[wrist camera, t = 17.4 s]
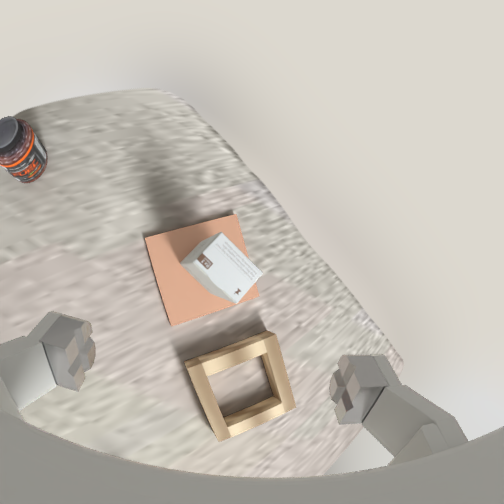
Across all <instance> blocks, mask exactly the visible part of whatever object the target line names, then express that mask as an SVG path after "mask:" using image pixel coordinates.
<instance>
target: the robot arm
mask: <svg viewBox="0 0 504 504" xmlns="http://www.w3.org/2000/svg"><path fill="white" fill-rule="evenodd" d="M91 333H92V327H91V323H90V322H88V321H86V320H82V319H79V318H75V317H72V316H68V315H65V314H61V313H57V312H54V311H51V312H49V313H48V314H47V315H46V316H45V317H44V318H43V319H42V320H41V321H40V322H39V323H38V325H37V326H36V327H35V328H34V329H33V330H32V331H31V332H30V334H29V335H28V336H27V337H25V336H22V337H19V338H16V339H14V340H11V341H8V342H6V343H3V344H0V504H504V426H503V427H501V428H499V429H497V430H495V431H493V432H490V433H488V434H486V435H484V436H481V437H479V438H476V439H474V440H471V441H469V442H468V440H467V438H466V436H465V435H464V433H463V431H462V429H461V427H460V426H459V424H458V422H457V421H456V419H455V417H454V416H452V415H451V414H449V413H447V412H446V411H444V410H443V409H441V408H440V407H438V406H436V405H435V404H434V403H432V402H430V401H429V400H427V399H426V398H424V397H423V396H421V395H420V394H418V393H417V392H415V391H414V390H412V389H411V388H409V387H408V386H406V385H401V383H400V381H399V379H398V377H397V375H396V374H395V372H394V370H393V368H392V367H391V365H390V363H389V361H388V360H387V358H386V356H385V355H383V354H370V355H342V356H341V358H340V359H339V361H338V366H339V369H338V370H337V371H336V372H334V373H333V375H332V378H331V380H330V387H329V390H330V396H331V400H333V401H334V402H335V403H336V404H337V406H336V407H335V409H334V410H335V413H336V416H337V420H338V423H339V424H358V423H362V425H363V426H364V427H365V428H366V429H367V430H368V431H369V432H370V433H371V434H372V435H373V436H374V437H375V438H376V439H377V440H378V441H379V442H380V443H381V444H382V445H383V446H384V447H385V448H386V449H387V450H388V451H389V452H390V453H391V454H392V455H393V456H394V459H393V460H392V461H391V462H390V463H389V464H388V465H387V466H384V467H379V468H374V469H368V470H362V471H356V472H349V473H341V474H332V475H322V476H309V477H289V478H254V477H233V476H220V475H210V474H201V473H193V472H186V471H180V470H174V469H168V468H162V467H157V466H153V465H148V464H143V463H139V462H135V461H131V460H127V459H123V458H119V457H116V456H112V455H109V454H106V453H102V452H99V451H96V450H93V449H90V448H87V447H84V446H81V445H79V444H76V443H73V442H71V441H68V440H65V439H63V438H60V437H58V436H56V435H53V434H51V433H48V432H46V431H44V430H42V429H40V428H37V427H35V426H33V425H31V424H29V423H27V422H25V420H24V418H23V416H22V415H21V413H20V410H21V409H23V408H24V407H26V406H27V405H29V404H30V403H32V402H33V401H35V400H36V399H38V398H40V397H41V396H43V395H44V394H46V393H47V392H49V391H50V390H52V389H53V388H55V387H56V386H57V385H59V386H62V387H65V388H68V389H71V390H74V391H79V389H80V387H81V386H82V384H83V382H84V380H85V374H84V372H85V371H87V370H89V369H91V367H92V365H93V363H94V359H95V343H94V341H93V340H92V339H91V338H90V335H91Z"/></svg>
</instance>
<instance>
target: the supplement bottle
mask: <svg viewBox="0 0 504 504" xmlns="http://www.w3.org/2000/svg"><path fill="white" fill-rule="evenodd" d="M0 165H1V166H2V167H3V168H4V169H5V170H6V171H8V172H9V173H10V174H11V175H12V176H13V177H14V178H16V179H17V180H18V181H20V182H22V183H30V182H33V181H35V180H36V179H38V178H39V177H40V176H41V175H42V173H43V172H44V170H45V168H46V165H47V153H46V151H45V149H44V147H43V145H42V144H41V142H40V141H39V139H38V138H37V136H36V135H35V133H34V131H33V130H32V128H31V127H30V125H29V124H28V123H27V122H26V121H24V120H21V119H16V118H14V117H11V116H8V117H4V118H2V119H1V120H0Z"/></svg>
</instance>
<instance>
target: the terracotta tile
mask: <svg viewBox="0 0 504 504" xmlns="http://www.w3.org/2000/svg"><path fill="white" fill-rule="evenodd" d="M219 232H222V233H223V234H224V235H225V236H226V237H227V238H228V239H229V240H230V241H231V242H232V243H233V244H234V245H235V246H236V247H237V248H238V249H239V250H240V251H241V252H242V253H243V254H244V255H245V256H247V257H248V254H247V250H246V247H245V243H244V240H243V236H242V233H241V229H240V225H239V222H238V218H237V215H236V214H234V215H230V216H226V217H222V218H218V219H214V220H210V221H206V222H202V223H199V224H195V225H191V226H187V227H183V228H180V229H176V230H172V231H168V232H165V233H161V234H157V235H154V236H150V237H147V238H145V241H146V245H147V248H148V252H149V256H150V259H151V263H152V266H153V270H154V273H155V277H156V280H157V283H158V287H159V290H160V293H161V296H162V300H163V303H164V306H165V309H166V312H167V315H168V318H169V321H170V324H171V326H174V325H177V324H180V323H183V322H186V321H189V320H192V319H195V318H198V317H201V316H204V315H207V314H210V313H213V312H216V311H219V310H222V309H225V308H228V307H230V306H233V305H236V303H233V302H230V301H228V300H225V299H223V298H220V297H218V296H215V295H213V294H210V293H209V292H208V291H207V290H206V289H205V288H204V287H203V286H202V285H201V284H200V283H199V282H198V281H197V280H196V279H195V278H194V277H193V276H192V275H191V274H190V273H189V272H188V271H187V270H186V269H184V268H183V267H182V266H181V264H180V262H181V261H182V260H183V259H184V258H185V257H186V256H187V255H188V254H189V253H190V252H191V251H192V250H193V249H194V248H195V247H196V246H197V245H198V244H199V243H200V242H201V241H203V240H205V239H207V238H209V237H211V236H213V235H215V234H217V233H219ZM258 296H259V293H258V290H257V286H256V283H254V284H253V285H252V287H251V288H250V289H249V290H248V291H247V293H246V294H245V295H244V296H243V297H242V298H241V300H240V301H239V302H238V303H237V304H239V303H242V302H245V301H247V300H250V299H253V298H256V297H258Z"/></svg>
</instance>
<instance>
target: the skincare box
mask: <svg viewBox="0 0 504 504" xmlns="http://www.w3.org/2000/svg"><path fill="white" fill-rule="evenodd" d="M180 264H181V266H182V267H183V268H184V269H186V270H187V271H188V272H189V273H190V274H191V275H192V276H193V277H194V278H195V279H196V280H197V281H198V282H199V283H200V284H201V285H202V286H203V287H204V288H205V289H206V290H207V291H208V292H209V293H210V294H213V295H215V296H218V297H220V298H223V299H225V300H228V301H230V302H233V303H236V304H237V303H238V302H239V301H240V300H241V298H242V297H243V296H244V295H245V294H246V293H247V291H248V290H249V289H250V288H251V287H252V285H253V284H254V283H255V282H256V281H257V280H258V278H259V277H260V276H261V275H262V273H263V272H262V271H261V270H260V269H259V268H258V267H257V266H256V265H255V264H254V263H253V262H252V261H251V260H250V259H249V258H248V257H247V256H245V255H244V254H243V253H242V252H241V251H240V250H239V249H238V248H237V247H236V246H235V245H234V244H233V243H232V242H231V241H230V240H229V239H228V238H227V237H226V236H225V235H224V234H223V233H222V232H219V233H217V234H215V235H213V236H211V237H209V238H207V239H205V240H203V241H201V242H200V243H199V244H198V245H197V246H196V247H195V248H194V249H193V250H192V251H191V252H190V253H189V254H188V255H187V256H186V257H185V258H184V259H183V260H182V261H181V262H180Z"/></svg>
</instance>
